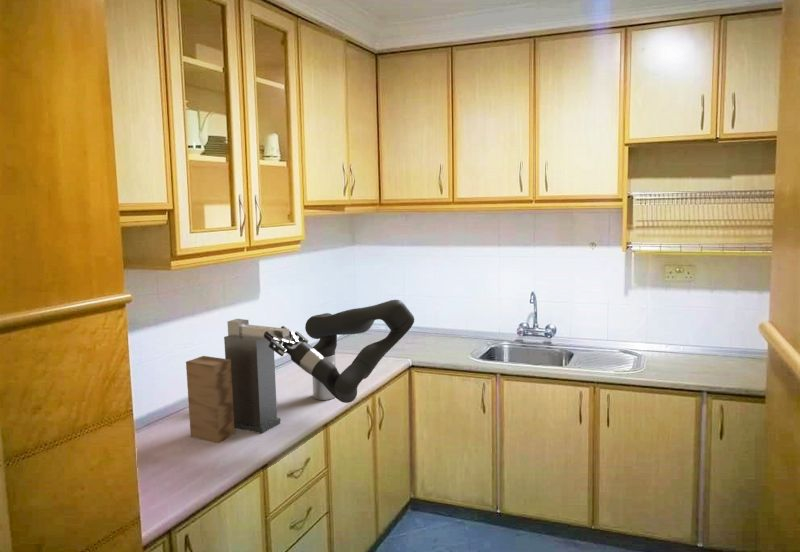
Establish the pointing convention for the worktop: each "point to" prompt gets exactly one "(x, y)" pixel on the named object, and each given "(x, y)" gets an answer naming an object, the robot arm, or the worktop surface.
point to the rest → (210, 398)
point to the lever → (254, 330)
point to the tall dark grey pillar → (252, 383)
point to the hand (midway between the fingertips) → (273, 330)
